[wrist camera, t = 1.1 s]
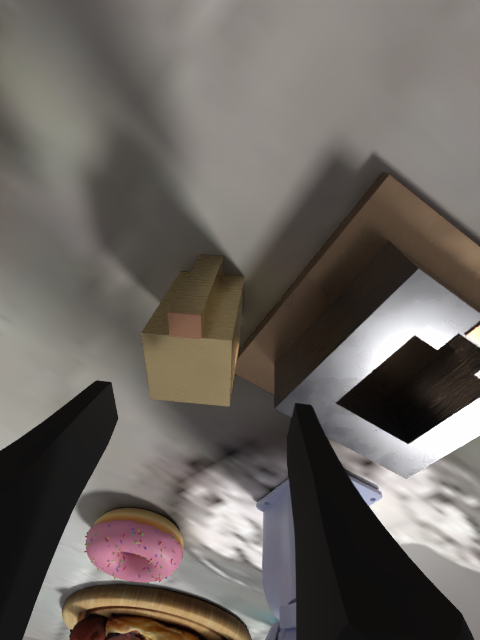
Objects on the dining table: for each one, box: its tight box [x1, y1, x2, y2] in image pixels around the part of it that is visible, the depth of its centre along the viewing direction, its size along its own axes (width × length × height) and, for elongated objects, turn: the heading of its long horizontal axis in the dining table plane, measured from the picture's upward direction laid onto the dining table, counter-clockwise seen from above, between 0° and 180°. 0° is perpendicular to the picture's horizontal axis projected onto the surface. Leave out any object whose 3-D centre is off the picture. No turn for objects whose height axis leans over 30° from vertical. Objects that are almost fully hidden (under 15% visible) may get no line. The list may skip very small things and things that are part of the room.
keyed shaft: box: [141, 255, 244, 407], centre depth 17 cm, size 5×4×7 cm
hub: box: [235, 172, 480, 479], centre depth 19 cm, size 15×15×5 cm
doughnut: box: [84, 508, 183, 584], centre depth 36 cm, size 11×11×4 cm
